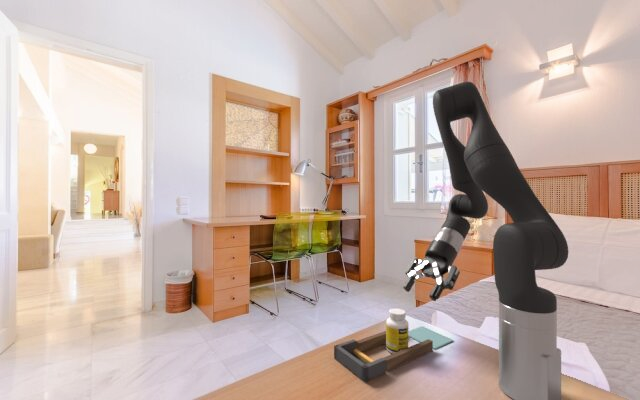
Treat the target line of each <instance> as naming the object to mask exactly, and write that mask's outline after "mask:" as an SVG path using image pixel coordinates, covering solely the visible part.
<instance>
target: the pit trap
mask: <svg viewBox="0 0 640 400" xmlns="http://www.w3.org/2000/svg"><path fill="white" fill-rule="evenodd" d="M356 341H357V340H355V338H354V339H350V340H348V341H344V342H342V343H338V344H335V345H333V357H334V360H335V361H337V362H338V363H339V364H341V365H342V366H343V367H344V368H346V369H347V370H348V371H349V372H350V373H352V374H353V375H354V376H356V377H357V378H358V379H359V380H360V381H362V382H363V383H368V382H370V381H372V380H375V379H376V378H379V377H381V376H383V375H386V374H387V372H386V359H384V357H380V358H378V359H376V360H375V359H372V358H371V357H370V356H368V355H366V354H365V353H364V352H360V351H359V350H357V349H356Z"/></svg>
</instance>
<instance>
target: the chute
mask: <svg viewBox="0 0 640 400" xmlns="http://www.w3.org/2000/svg"><path fill="white" fill-rule="evenodd" d="M382 345H386V330H385V331H381V332H378V333H376V334H373V335H369V336H367V337H364V338H361V339H359V340H356V349H357V350H359V351H360V352H362V353H364V352H366V351H369V350H372V349H375V348H377V347H379V346H382ZM433 351H434V349H433V341H432V340H429V339H428V340H425V341H423V342H418V343H416V344H414V345H411V346H408V348H406V349H403V350H401V351H398V352H396V353H394V354H392V353H390V354H389V355H387V356H384V357H383V358H384V359H386V373H387V372H390V371H392V370H394V369H397V368H398V367H401V366H403V365H404V364H407V363H409V362H411V361H413V360H416V359H418V358H420V357H422V356H425V355H427V354H429V353H432V352H433Z"/></svg>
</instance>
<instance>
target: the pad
mask: <svg viewBox="0 0 640 400" xmlns="http://www.w3.org/2000/svg"><path fill="white" fill-rule="evenodd" d="M408 338H410V339H413V340H415V341H417V342H418V343H420V342H423V341H425V340H428V339H429V340H432V341H433V351H434V350H437V349H440V348H441V347H443V346H445V345H448V344H450V343H452V342H454V339H452V338H450V337H448V336H445V335H443V334H441V333H439V332H436V331H434V330H432V329H430V328H427V327H425V326H423V325H421V326H419V327H416V328H413V329H411V330H408Z"/></svg>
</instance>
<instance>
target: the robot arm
mask: <svg viewBox="0 0 640 400" xmlns="http://www.w3.org/2000/svg"><path fill="white" fill-rule="evenodd" d="M432 108H433V113H434V117H435V121H436V125H437V128H438V131H439V135H440V138H441V141H442V145H443V148H444V151H445V154H446V158H447V162H448V166H449V167H448V168H449V174H450V180H451V184H452V187H453V189H454V190H455V191H457V192H458V191H459V192H461V193H459V194H458V193H457V194H455V195H453V196H452V197H451V199H450V200H449V203H448V210H447V214H446V218H445V221H444V222H443V223H442V226H441V228H440V229H439V230H438V231H437V232H436V234H435V236H434V238H433V239H432V241H431V242H430V244H429V246H428V248H427V250H426V251H425V255H424V258H422V259H418V257H417V256H414V257H412V258H411V261H410V262H409V264H408V265H407V266H406V268H405V269H404V273H405V274H406V276H407V278H406V279H405V281H404V283H403V289H404V290H405V292H408V293H409V292H410V291H411V289H412V287H413V286H414V285H415V282H416V281H417V280H418V279H423V278H425V277H426V278H431V279H433V280H436V283H435V285H434V286H433V288H432V290H431V291H430V294H429V298H430V300H431V301H433V302H436V301H437V300H439V299H440V297H441V294H442V293H443V292H444V290H446V289H447V290H453V289H454V287H455V284H456V282H457V279H458V278H459V275H460V273H461V272H460V269H459V268H458V266H457V265H455V264H454V262H455V260H456V258H457V257H458V255H459V252H460V251H461V249H462V247H463V244H464V241H465V239H466V238H467V235H468V234H469V232H470V230H471V222H469V218H470V219H477V220H478V219H482V218H484V217H485V216H486V215H487V213H488V210H489V202H488V199H487V196H486V195H488V196H489V197H490V198H491V199H492V200H494V201H495V202H496V203H497V204H498V205H500V206H501V207H502V208H503V209H504V211H505V212H506V213H507V214H508V216H509V217H510V218H511V220H512V222H509V223H505V224H502V225H501V226H499V227H498V228H497V229H496V230H495V231H496V232H495V233H494V237H493V240H492V241H493V242H492V254H493V255H492V256H493V270H494V271H493V273H494V283H495V286H496V290H497V293H498V385H499V388H500V390H501V391H502V392H503V393H504V394H505V395H506V396H508V397H510V398H511V399H512V400H562V350H561V348H558V346H557V345H558V344H557V343H558V341H557V339H558V337H557V336H558V335H557V331H558V329H557V326H558V325H557V322H558V321H557V320H558V319H557V314H558V311H557V309H558V306H557V305H558V304H557V303H558V301H557V296H556V294H555V293H554V292H552V291H550V290H548V289H546V288H543V287H541V286H538V283H537V277H536V271H545V270H554V269H559V268H561V267H563V266H564V265H565V264H566V262H567V261H568V258H569V245H568V242H567V241H568V240H566V237H565V235H564V233H563V232H562V230H561V228H560V227H559V226H558V224H557V223H556V221H555V220H554V218H553V217H552V216H551V215H550V214H549V212H548V211H547V209H546V208H545V206H544V205H543V204H542V202H540V200H539V198H538V197H537V196H536V194H535V192H534V190H533V189H532V188H531V186H530V184H529V182H528V181H527V179H526V178H525V176H524V174H523V172H522V171H521V170H520V168H519V165H518V164H517V162H516V160H515V158H514V156H513V155H512V152H511V151H510V149H509V147H508V146H507V144H506V143H505V141H504V139H503V138H502V136H501V135H500V133H499V131H498V129H497V128H496V125H495V124H494V122H493V121H492V119H491V118H492V117H491V116H490V113H489V111H488V109H487V107H486V104H485V102H484V99H483V98H482V96H481V93H480V91H479V89H478V88H477V86H476V85H475V84H474V83H473V82H472V81H464V82H463V81H462V82H460V83H457V84H454V85H450V86H447V87H443V88H440V89H438V90H436V91H435V92H434V94H433V96H432ZM465 118H468V119H470V121H471V124H472V125H471V130H470V134H469V137H468V139H467V142H466V145H464V144H463V143H462V141H460V140H459V139H458V137H457V136H456V135H455V133H454V131H453V128H452V125H451V122H456V121H459V120H462V119H465ZM463 193H464V194H463ZM485 194H486V195H485ZM467 218H468V219H467ZM446 274H447V276H446V278H445V277H444V275H446Z"/></svg>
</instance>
